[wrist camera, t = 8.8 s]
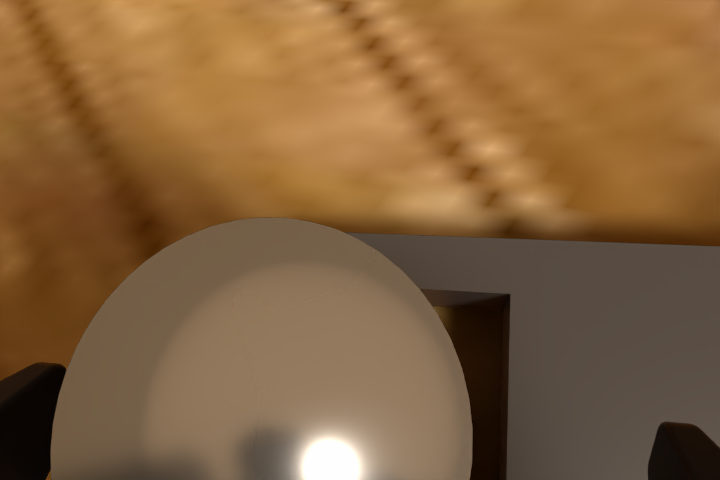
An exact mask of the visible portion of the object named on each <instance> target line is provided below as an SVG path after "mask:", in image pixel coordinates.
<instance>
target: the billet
mask: <svg viewBox="0 0 720 480" xmlns="http://www.w3.org/2000/svg"><path fill="white" fill-rule="evenodd" d="M472 437H473V429H472V420H471V411H470V402H469V396H468V391H467V387H466V383H465V379H464V375H463V371H462V367H461V364H460V362H459V359H458V356H457V354H456V351H455V348H454V346H453V343H452V341H451V338H450V336H449V335H448V333H447V331H446V329H445V327H444V325H443V323H442V322H441V320H440V318H439V316H438V314H437V312H436V311H435V310H434V308H433V307H432V305H431V304H430V303H429V301H428V300H427V298H426V297H425V296H424V294H423V293H422V292H421V290H420V289H419V288H418V287H417V286H416V285H415V284H414V283H413V282H412V280H411V279H410V278H409V277H408V276H407V275H406V274H405V273H404V272H403V271H402V270H401V269H400V268H399V267H398V266H396V265H395V264H394V263H393V262H391V261H390V260H389V259H388V258H386V257H385V256H384V255H383V254H382V253H380V252H379V251H377V250H375V249H374V248H372V247H371V246H369V245H367V244H366V243H364V242H362V241H361V240H359V239H357V238H355V237H353V236H350V235H348V234H346V233H344V232H341V231H339V230H337V229H335V228H331V227H328V226H324V225H321V224H317V223H314V222H310V221H304V220H297V219H290V218H267V217H259V218H251V219H242V220H235V221H231V222H227V223H223V224H219V225H215V226H211V227H208V228H206V229H203V230H200V231H198V232H195V233H193V234H190V235H187V236H186V237H184V238H182V239H180V240H178V241H176V242H174V243H172V244H171V245H169V246H167V247H165V248H164V249H162V250H161V251H159V252H158V253H156V254H155V255H154V256H152V257H151V258H149V259H148V260H146V261H145V262H144V263H143V264H141V265H140V266H139V267H138V268H137V269H136V270H135V271H133V272H132V273H131V274H130V275H129V276H128V277H127V278H125V279H124V281H123V282H122V283H121V284H120V285H119V286H118V287H117V288H116V289H115V290H114V292H113V293H112V294H111V295H110V296H109V297H108V298H107V299H106V301H105V302H104V304H103V305H102V306H101V308H100V309H99V310H98V312H97V313H96V315H95V316H94V317H93V319H92V320H91V322H90V324H89V325H88V327H87V329H86V331H85V332H84V334H83V336H82V338H81V339H80V341H79V343H78V345H77V347H76V349H75V352H74V354H73V356H72V359H71V361H70V363H69V365H68V368H67V370H66V374H65V377H64V380H63V383H62V386H61V390H60V393H59V396H58V401H57V406H56V411H55V416H54V421H53V429H52V440H51V452H50V456H51V480H470V474H471V467H472Z"/></svg>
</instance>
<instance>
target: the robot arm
mask: <svg viewBox="0 0 720 480" xmlns="http://www.w3.org/2000/svg"><path fill="white" fill-rule="evenodd" d="M65 374H66V368H65V367H64V366H63V365H60V364H55V363H44V362H40V363H35V364H32V365H30V366H28V367H27V368H25V369H23V370H21V371H19V372H17V373H15V374H13V375H11V376H9V377H7V378H5V379H3V380H1V381H0V480H46V478H47V476H48V474H49V472H50V470H51V456H50V452H51V440H52V429H53V421H54V416H55V411H56V406H57V401H58V396H59V393H60V390H61V386H62V383H63V380H64V377H65ZM648 480H720V447H719V446H718V445H717V444H716V443H715V442H714V441H713V440H712V439H711V438H710V437H708V436H707V435H706V434H705V433H704V432H703V431H702V430H701V429H700V428H699V427H697V426H696V425H693V424H689V423H678V422H668V421H666V422H662V423H661V424H660V425H659V427H658V429H657V433H656V436H655V440H654V444H653V447H652V451H651V454H650V458H649V462H648Z"/></svg>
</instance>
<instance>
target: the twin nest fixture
mask: <svg viewBox="0 0 720 480" xmlns="http://www.w3.org/2000/svg"><path fill="white" fill-rule="evenodd" d="M344 233H346V232H344ZM346 234H348V235H350V236H353V237H355V238H357V239H359V240H361V241H362V242H364V243H366V244H367V245H369V246H371V247H372V248H374V249H375V250H377V251H379V252H380V253H382V254H383V255H384V256H385V257H386V258H388V259H389V260H390V261H391V262H393V263H394V264H395V265H396V266H398V267H399V268H400V269H401V270H402V271H403V272H404V273H405V274H406V275H407V276H408V277H409V278H410V279H411V280H412V282H413V283H414V284H415V285H416V286H417V287H418V288H419V289H420V290H421V292H422V293H423V294H424V296H425V297H426V298H427V300H428V301H429V303H430V304H431V305H432V306H441V307H457V308H473V309H489V310H503V346H502V386H501V426H500V467H499V480H648V462H649V458H650V454H651V451H652V447H653V444H654V440H655V436H656V433H657V429H658V427H659V425H660V424H661V423H662V422H666V421H668V422H678V423H689V424H693V425H696V426H697V427H699V428H700V429H701V430H702V431H703V432H704V433H705V434H706V435H707V436H708V437H710V438H711V439H712V440H713V441H714V442H715V443H716V444H717V445H718V446H719V447H720V246H694V245H667V244H640V243H613V242H587V241H560V240H533V239H507V238H480V237H453V236H426V235H400V234H373V233H346Z"/></svg>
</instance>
